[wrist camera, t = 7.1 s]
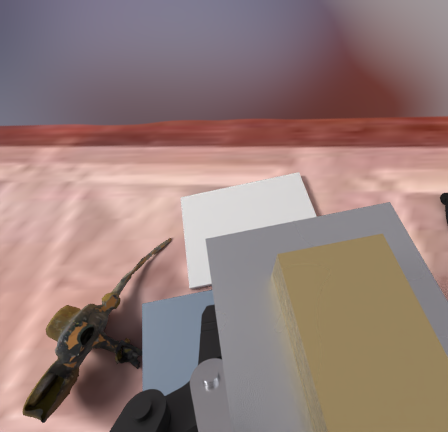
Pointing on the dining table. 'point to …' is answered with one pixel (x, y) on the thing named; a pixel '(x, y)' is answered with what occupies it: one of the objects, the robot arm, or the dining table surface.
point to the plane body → (172, 340)
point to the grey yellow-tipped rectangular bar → (330, 326)
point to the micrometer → (447, 200)
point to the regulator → (79, 347)
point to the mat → (238, 215)
